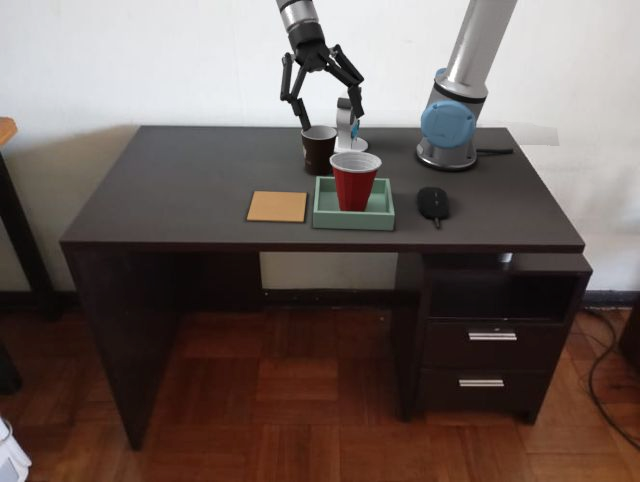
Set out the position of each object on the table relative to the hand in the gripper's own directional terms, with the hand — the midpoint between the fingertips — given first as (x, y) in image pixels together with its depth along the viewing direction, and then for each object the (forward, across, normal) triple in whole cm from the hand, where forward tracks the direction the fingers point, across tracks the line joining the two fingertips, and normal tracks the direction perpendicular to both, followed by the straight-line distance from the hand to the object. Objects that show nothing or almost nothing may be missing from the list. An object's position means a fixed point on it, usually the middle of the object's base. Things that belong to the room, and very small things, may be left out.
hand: (334, 123), depth 109 cm
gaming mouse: (+25, -14, +5) cm, 29 cm away
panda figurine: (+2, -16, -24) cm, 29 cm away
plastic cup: (+19, +2, -2) cm, 19 cm away
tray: (+19, +2, -2) cm, 19 cm away
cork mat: (+13, +15, -9) cm, 22 cm away
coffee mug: (+6, -3, -19) cm, 20 cm away
